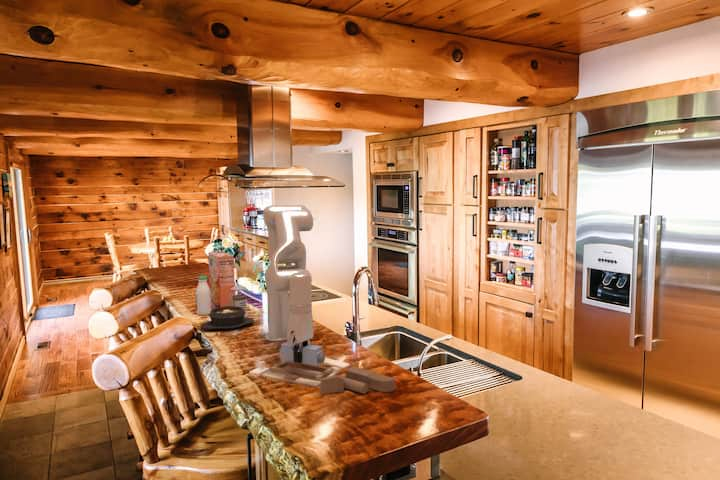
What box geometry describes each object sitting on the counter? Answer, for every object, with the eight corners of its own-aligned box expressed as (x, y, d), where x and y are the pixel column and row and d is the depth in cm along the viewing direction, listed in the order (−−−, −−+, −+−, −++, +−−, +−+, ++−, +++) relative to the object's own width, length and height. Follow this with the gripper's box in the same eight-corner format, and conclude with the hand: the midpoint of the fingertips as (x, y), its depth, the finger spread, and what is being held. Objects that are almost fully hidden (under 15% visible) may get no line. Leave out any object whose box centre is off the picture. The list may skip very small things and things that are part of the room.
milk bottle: (214, 312, 259) (213, 275, 258) (205, 316, 252) (204, 277, 250) (202, 311, 262) (201, 274, 260) (193, 314, 255) (191, 277, 253)
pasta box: (210, 304, 279) (208, 252, 276) (224, 302, 283) (222, 251, 280) (220, 312, 259) (218, 256, 256) (235, 310, 263) (233, 255, 260)
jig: (289, 362, 182) (289, 356, 182) (340, 371, 172) (340, 365, 172) (262, 376, 168) (262, 370, 168) (316, 387, 158) (316, 381, 158)
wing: (317, 358, 187) (317, 355, 187) (349, 367, 178) (349, 363, 178) (310, 361, 184) (310, 358, 184) (343, 370, 175) (342, 367, 174)
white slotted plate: (260, 369, 175) (260, 359, 175) (269, 371, 174) (269, 361, 173) (249, 375, 170) (249, 365, 170) (258, 376, 168) (258, 366, 168)
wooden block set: (351, 362, 166) (395, 374, 155) (351, 378, 167) (395, 391, 156) (318, 376, 153) (363, 391, 142) (318, 394, 153) (363, 409, 142)
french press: (252, 313, 257) (251, 266, 255) (238, 318, 247) (237, 269, 245) (237, 311, 262) (236, 265, 259) (223, 316, 251) (221, 268, 249)
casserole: (206, 335, 217) (205, 317, 216) (196, 326, 233) (195, 309, 232) (259, 327, 230) (259, 309, 229) (246, 318, 246) (246, 302, 245)
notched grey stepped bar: (280, 359, 171) (280, 344, 170) (287, 356, 174) (286, 341, 174) (319, 366, 164) (319, 350, 163) (325, 362, 167) (325, 347, 167)
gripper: (305, 302, 177) (305, 352, 178) (277, 312, 162) (278, 366, 163) (322, 304, 173) (323, 354, 175) (296, 314, 159) (297, 369, 160)
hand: (301, 359), depth 169 cm, fingers closed on notched grey stepped bar, 4 cm apart
